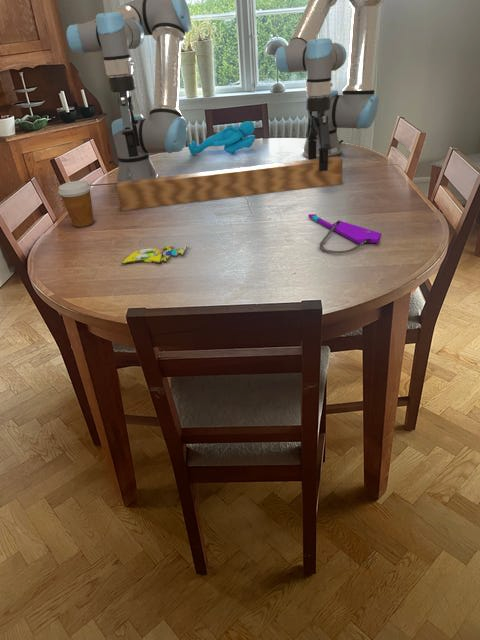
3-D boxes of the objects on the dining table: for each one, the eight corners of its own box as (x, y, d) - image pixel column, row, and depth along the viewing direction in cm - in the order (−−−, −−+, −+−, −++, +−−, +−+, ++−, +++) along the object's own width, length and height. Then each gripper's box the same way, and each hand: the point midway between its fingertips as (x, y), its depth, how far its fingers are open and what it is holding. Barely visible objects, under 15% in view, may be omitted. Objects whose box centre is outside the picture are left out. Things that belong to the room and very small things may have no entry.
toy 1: (178, 260, 119) (121, 261, 122) (179, 264, 120) (122, 264, 122) (187, 243, 128) (133, 244, 130) (187, 246, 128) (134, 247, 131)
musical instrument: (364, 263, 114) (392, 222, 127) (364, 255, 113) (391, 215, 125) (276, 252, 127) (309, 216, 139) (275, 245, 126) (308, 210, 138)
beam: (121, 210, 157) (116, 186, 153) (122, 206, 161) (117, 182, 157) (341, 183, 163) (342, 159, 158) (337, 180, 166) (338, 156, 162)
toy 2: (193, 134, 218) (255, 115, 207) (201, 157, 223) (262, 139, 212) (182, 144, 204) (248, 123, 194) (191, 168, 209) (255, 149, 199)
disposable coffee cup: (61, 227, 148) (50, 189, 141) (80, 216, 155) (71, 179, 149) (86, 230, 145) (76, 191, 138) (105, 218, 152) (96, 180, 145)
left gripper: (131, 79, 128) (145, 159, 140) (135, 70, 149) (147, 141, 161) (103, 81, 128) (120, 162, 139) (111, 72, 149) (125, 143, 160)
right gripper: (343, 100, 139) (340, 174, 150) (319, 90, 160) (318, 155, 171) (317, 102, 138) (316, 176, 149) (297, 92, 159) (297, 157, 170)
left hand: (134, 151), depth 150 cm, fingers open, 13 cm apart
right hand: (317, 165), depth 160 cm, fingers open, 13 cm apart
